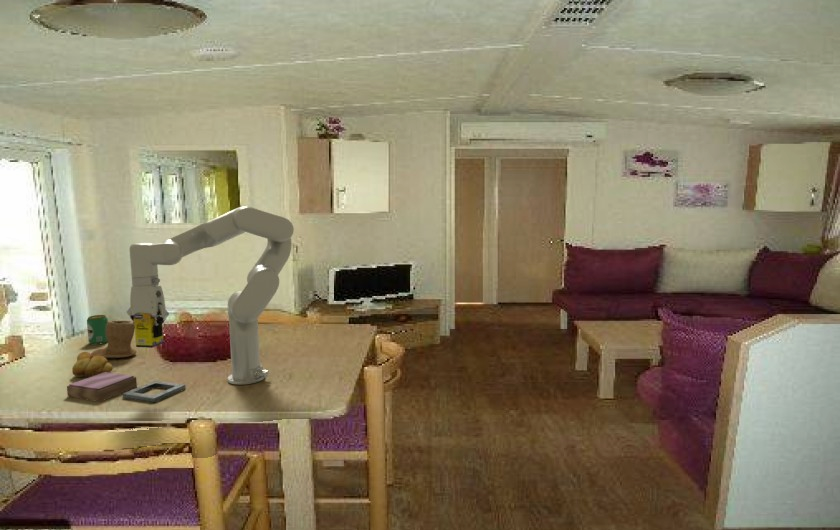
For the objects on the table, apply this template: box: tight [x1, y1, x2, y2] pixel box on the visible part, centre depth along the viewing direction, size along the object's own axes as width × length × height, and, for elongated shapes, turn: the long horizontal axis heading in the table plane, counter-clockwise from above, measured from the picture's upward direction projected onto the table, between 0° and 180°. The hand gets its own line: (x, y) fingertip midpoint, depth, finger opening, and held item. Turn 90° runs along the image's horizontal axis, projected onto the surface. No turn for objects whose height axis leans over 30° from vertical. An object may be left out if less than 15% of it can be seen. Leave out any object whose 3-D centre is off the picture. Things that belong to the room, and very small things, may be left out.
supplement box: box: [134, 313, 164, 349], centre depth 168 cm, size 6×6×11 cm
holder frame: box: [122, 380, 186, 404], centre depth 170 cm, size 13×13×2 cm
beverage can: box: [86, 314, 109, 345], centre depth 234 cm, size 8×8×12 cm
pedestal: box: [66, 372, 138, 402], centre depth 172 cm, size 14×14×4 cm
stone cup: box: [90, 320, 138, 359], centre depth 212 cm, size 15×12×15 cm
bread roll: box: [71, 351, 114, 378], centre depth 190 cm, size 13×10×8 cm
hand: (149, 335), depth 168 cm, fingers closed on supplement box, 6 cm apart
